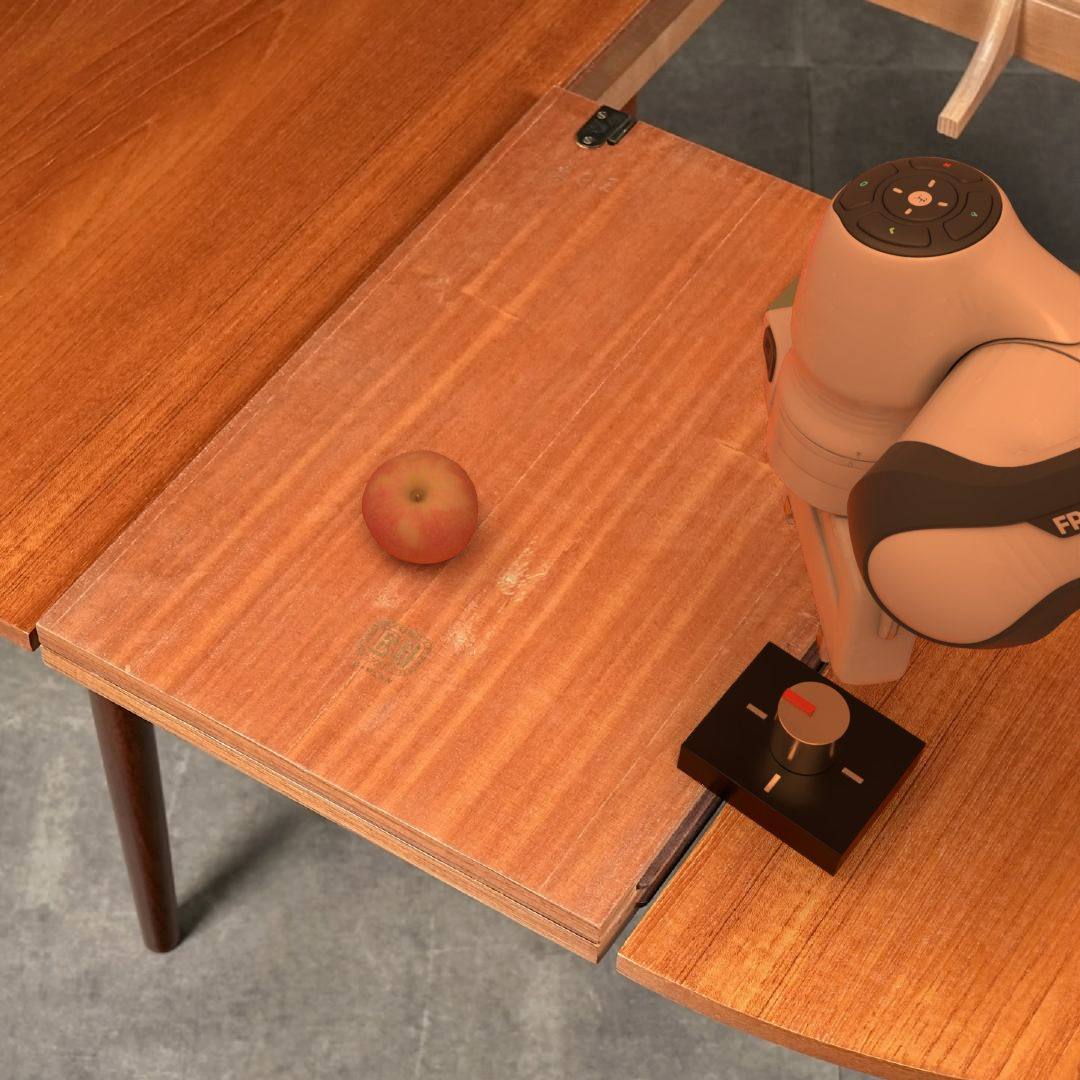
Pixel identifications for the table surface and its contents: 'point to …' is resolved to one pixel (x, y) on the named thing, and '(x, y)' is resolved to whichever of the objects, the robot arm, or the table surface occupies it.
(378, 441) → the table surface
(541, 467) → the table surface
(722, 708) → the panel
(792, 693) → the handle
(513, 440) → the table surface
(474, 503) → the apple
